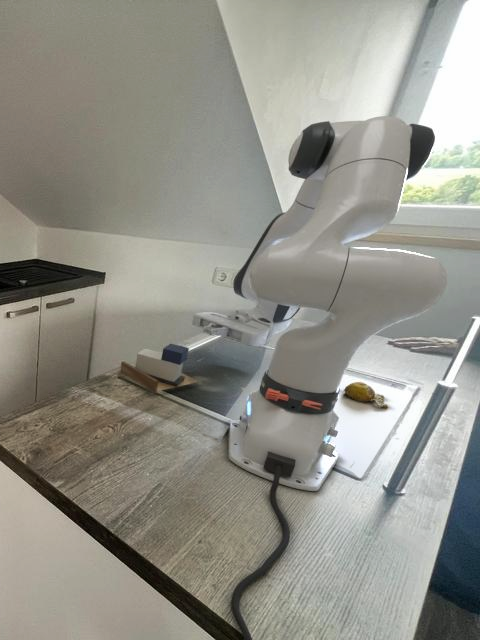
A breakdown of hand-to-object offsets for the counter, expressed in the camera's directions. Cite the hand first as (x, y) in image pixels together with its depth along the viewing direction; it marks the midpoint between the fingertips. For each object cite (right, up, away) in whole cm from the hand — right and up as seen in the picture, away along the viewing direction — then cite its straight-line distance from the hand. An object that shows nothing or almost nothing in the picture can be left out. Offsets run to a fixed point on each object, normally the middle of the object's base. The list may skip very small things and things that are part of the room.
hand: (207, 331), depth 106 cm
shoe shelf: (-14, -13, 0) cm, 19 cm away
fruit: (+35, -18, -10) cm, 40 cm away
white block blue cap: (-14, -12, -1) cm, 19 cm away
